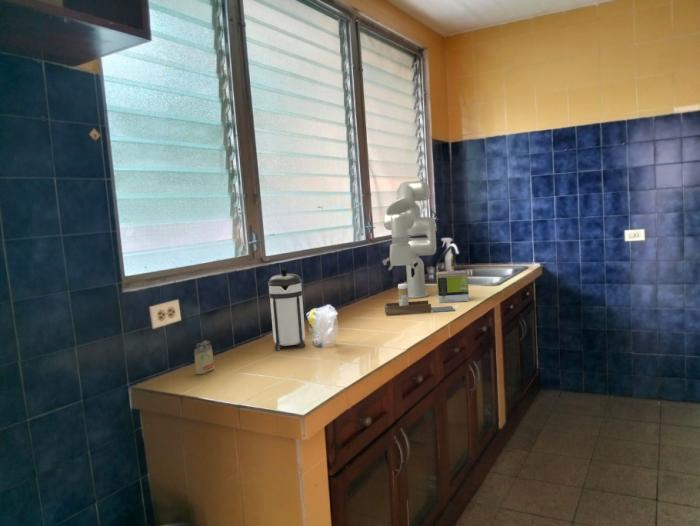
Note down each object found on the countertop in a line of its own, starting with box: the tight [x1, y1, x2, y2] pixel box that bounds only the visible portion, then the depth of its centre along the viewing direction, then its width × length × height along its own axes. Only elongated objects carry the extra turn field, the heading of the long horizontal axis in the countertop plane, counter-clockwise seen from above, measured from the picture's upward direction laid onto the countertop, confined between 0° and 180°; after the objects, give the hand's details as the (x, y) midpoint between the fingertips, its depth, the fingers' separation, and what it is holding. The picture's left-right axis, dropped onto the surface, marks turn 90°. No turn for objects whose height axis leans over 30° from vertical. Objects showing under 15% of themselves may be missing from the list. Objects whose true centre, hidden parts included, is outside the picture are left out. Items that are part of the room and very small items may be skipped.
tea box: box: [435, 269, 470, 304], centre depth 279 cm, size 15×10×15 cm
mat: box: [431, 305, 456, 313], centre depth 258 cm, size 10×10×1 cm
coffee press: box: [267, 267, 306, 351], centre depth 209 cm, size 17×16×30 cm
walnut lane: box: [383, 300, 432, 317], centre depth 258 cm, size 10×21×4 cm, turn 90°
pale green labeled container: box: [194, 339, 215, 375], centre depth 183 cm, size 7×4×10 cm, turn 153°
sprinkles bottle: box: [397, 283, 409, 306], centre depth 258 cm, size 5×5×14 cm
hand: (402, 277), depth 256 cm, fingers open, 9 cm apart
